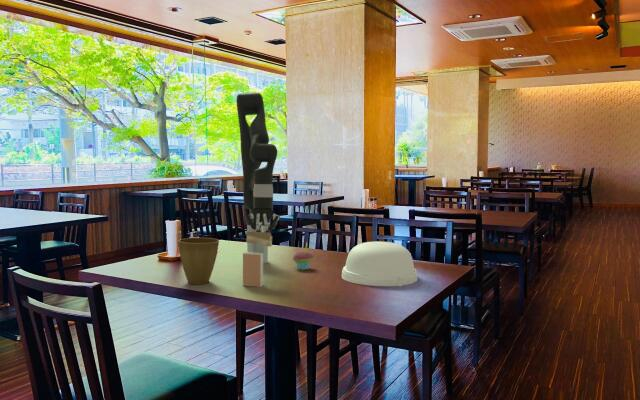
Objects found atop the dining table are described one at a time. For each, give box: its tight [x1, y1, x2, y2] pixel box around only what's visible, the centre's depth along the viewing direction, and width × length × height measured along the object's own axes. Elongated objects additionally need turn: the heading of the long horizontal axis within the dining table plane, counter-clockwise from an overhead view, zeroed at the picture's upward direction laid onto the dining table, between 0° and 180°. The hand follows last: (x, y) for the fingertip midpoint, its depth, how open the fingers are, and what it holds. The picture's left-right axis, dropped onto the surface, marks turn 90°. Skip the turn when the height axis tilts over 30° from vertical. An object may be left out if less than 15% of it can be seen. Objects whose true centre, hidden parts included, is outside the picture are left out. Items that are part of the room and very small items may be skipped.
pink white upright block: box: [242, 251, 264, 287], centre depth 191 cm, size 3×7×12 cm, turn 77°
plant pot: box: [177, 237, 220, 285], centre depth 195 cm, size 15×15×16 cm
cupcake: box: [292, 240, 314, 271], centre depth 222 cm, size 9×8×12 cm
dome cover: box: [341, 241, 419, 287], centre depth 207 cm, size 32×30×14 cm
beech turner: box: [245, 231, 273, 247], centre depth 202 cm, size 14×9×4 cm, turn 167°
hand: (263, 240), depth 202 cm, fingers closed on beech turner, 2 cm apart
